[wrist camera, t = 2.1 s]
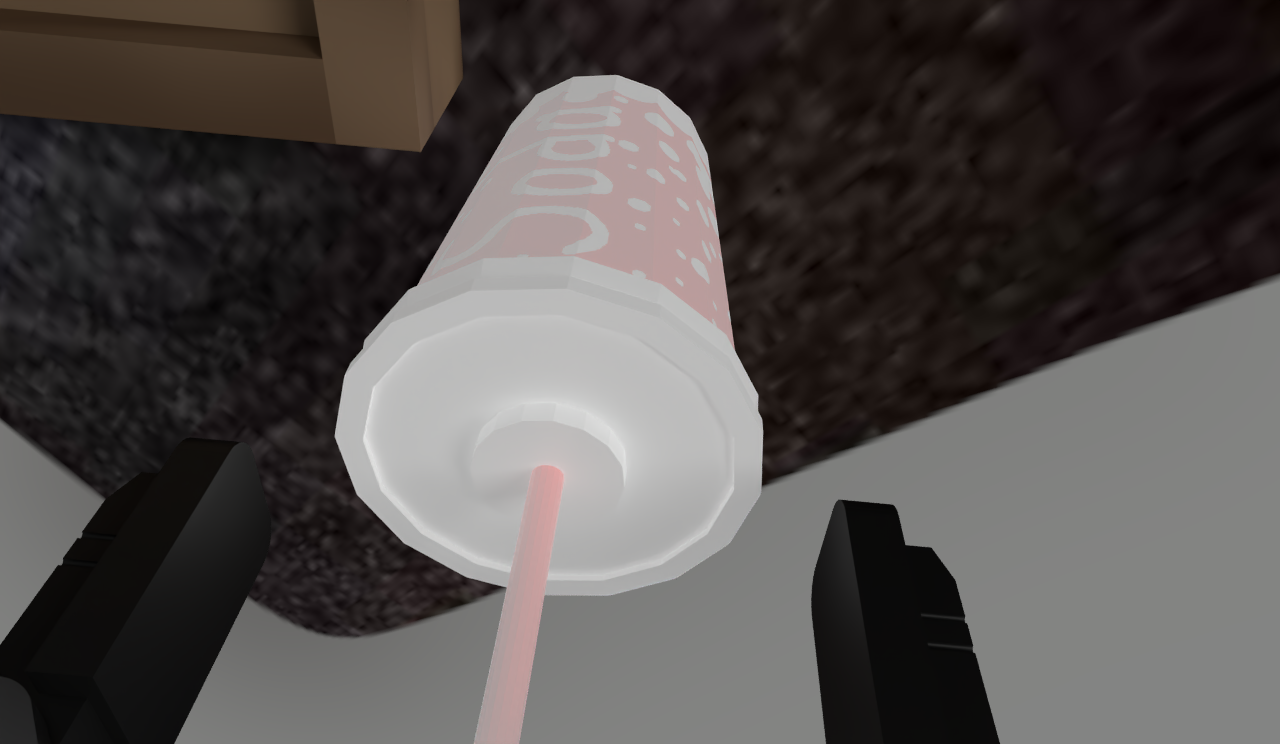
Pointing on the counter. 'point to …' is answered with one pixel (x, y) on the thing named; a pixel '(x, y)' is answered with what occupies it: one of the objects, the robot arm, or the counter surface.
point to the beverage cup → (563, 374)
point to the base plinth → (237, 66)
